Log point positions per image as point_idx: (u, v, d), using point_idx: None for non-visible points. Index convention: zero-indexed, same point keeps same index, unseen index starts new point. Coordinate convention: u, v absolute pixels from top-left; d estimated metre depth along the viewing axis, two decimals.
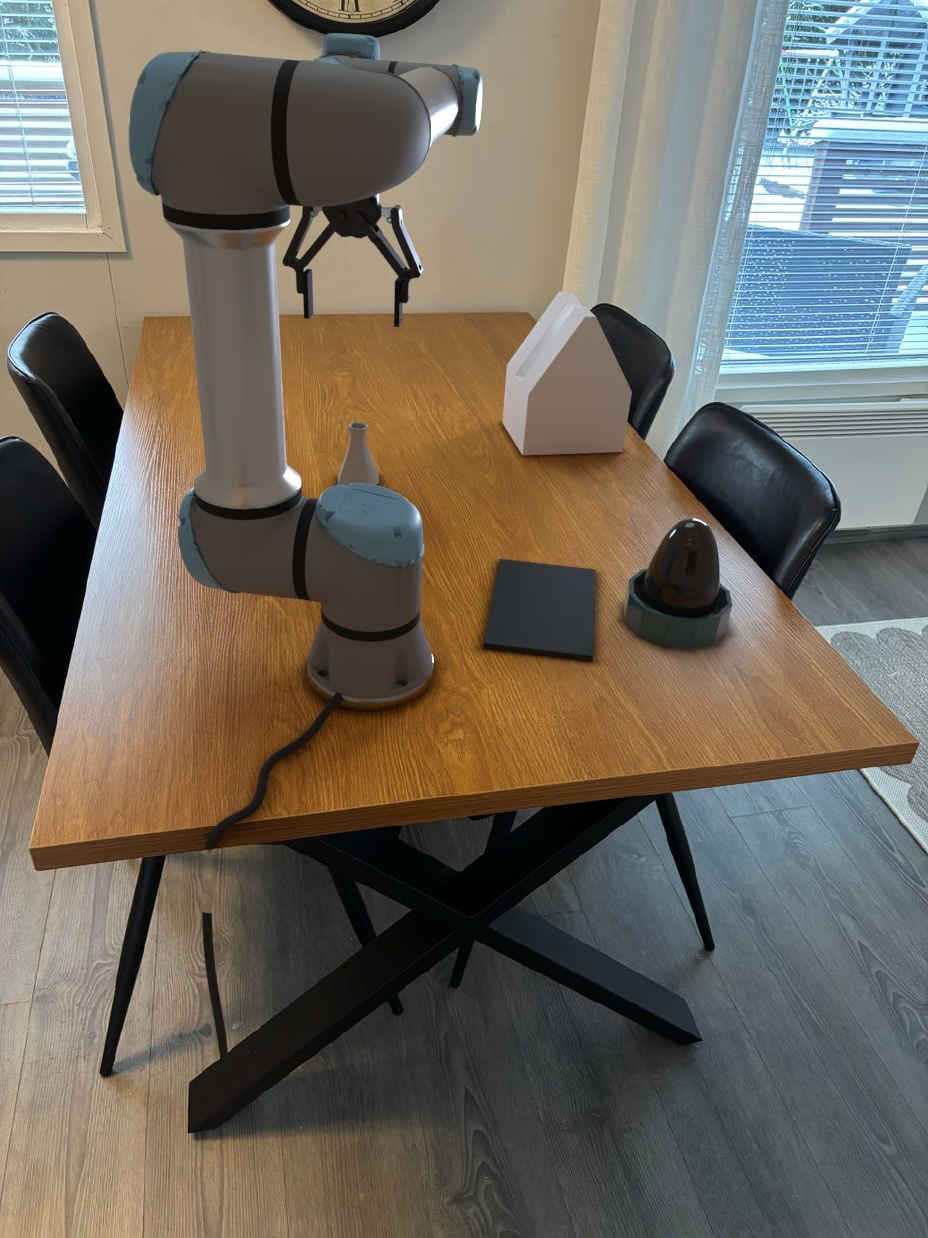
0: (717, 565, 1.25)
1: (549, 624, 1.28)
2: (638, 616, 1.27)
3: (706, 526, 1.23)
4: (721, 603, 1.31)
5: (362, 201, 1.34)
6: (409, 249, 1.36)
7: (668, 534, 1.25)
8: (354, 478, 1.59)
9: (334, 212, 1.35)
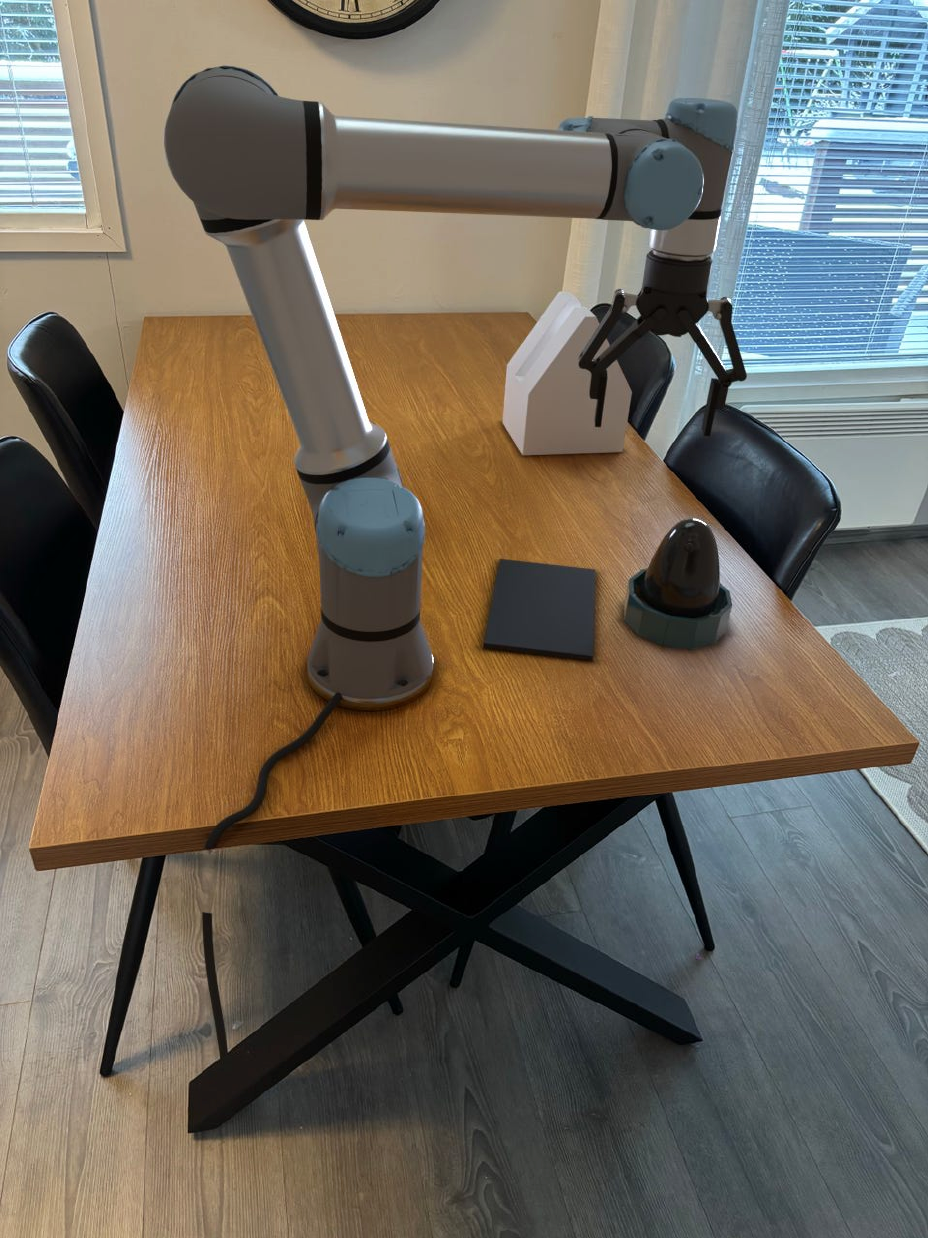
0: (717, 565, 1.25)
1: (549, 624, 1.28)
2: (638, 616, 1.27)
3: (706, 526, 1.23)
4: (721, 603, 1.31)
5: (689, 295, 1.11)
6: (738, 349, 1.14)
7: (668, 534, 1.25)
8: None
9: (652, 307, 1.13)
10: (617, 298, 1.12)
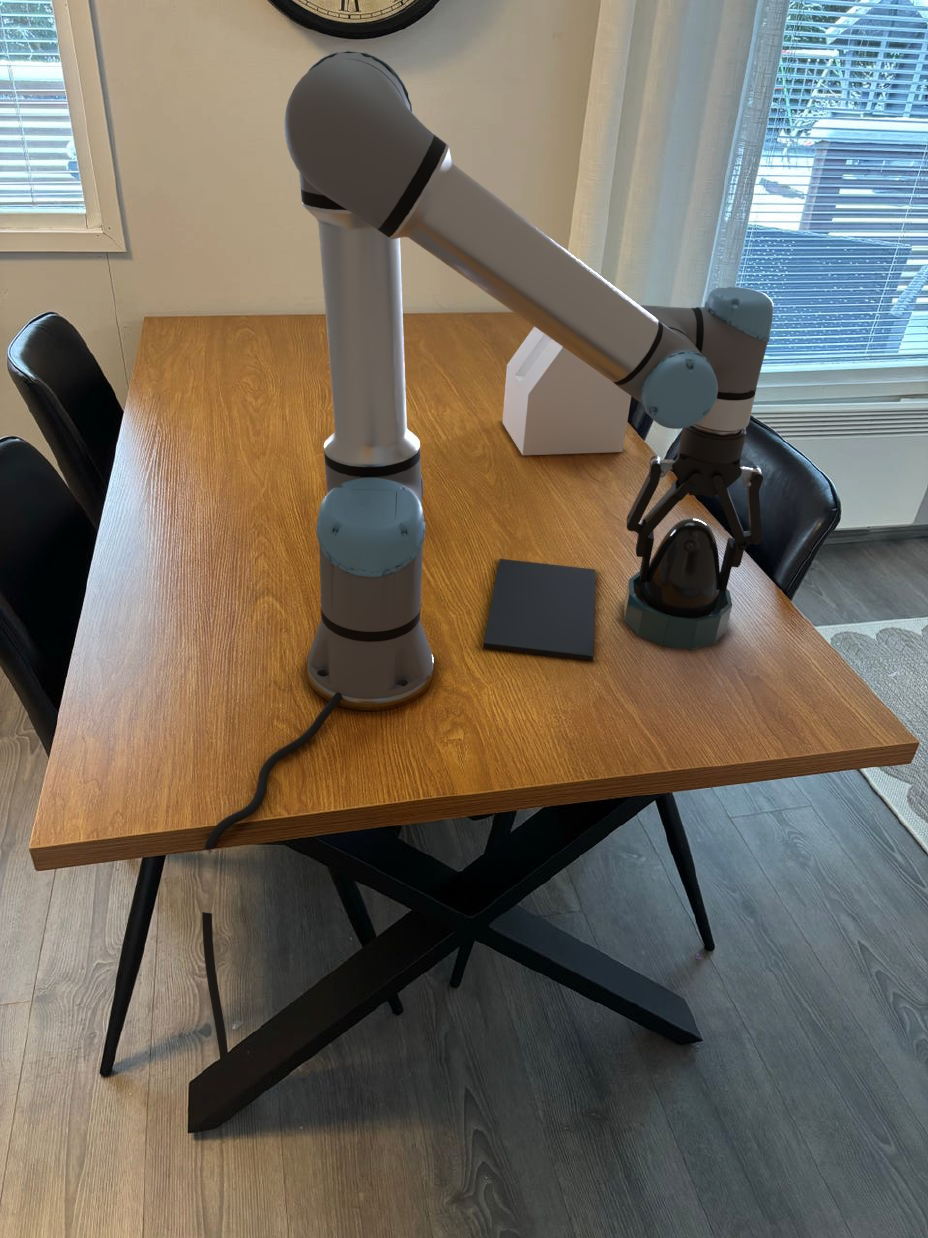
0: (717, 565, 1.25)
1: (549, 624, 1.28)
2: (638, 616, 1.27)
3: (706, 526, 1.23)
4: (721, 603, 1.31)
5: None
6: (759, 516, 1.21)
7: (668, 534, 1.25)
8: None
9: (687, 471, 1.19)
10: (653, 467, 1.19)
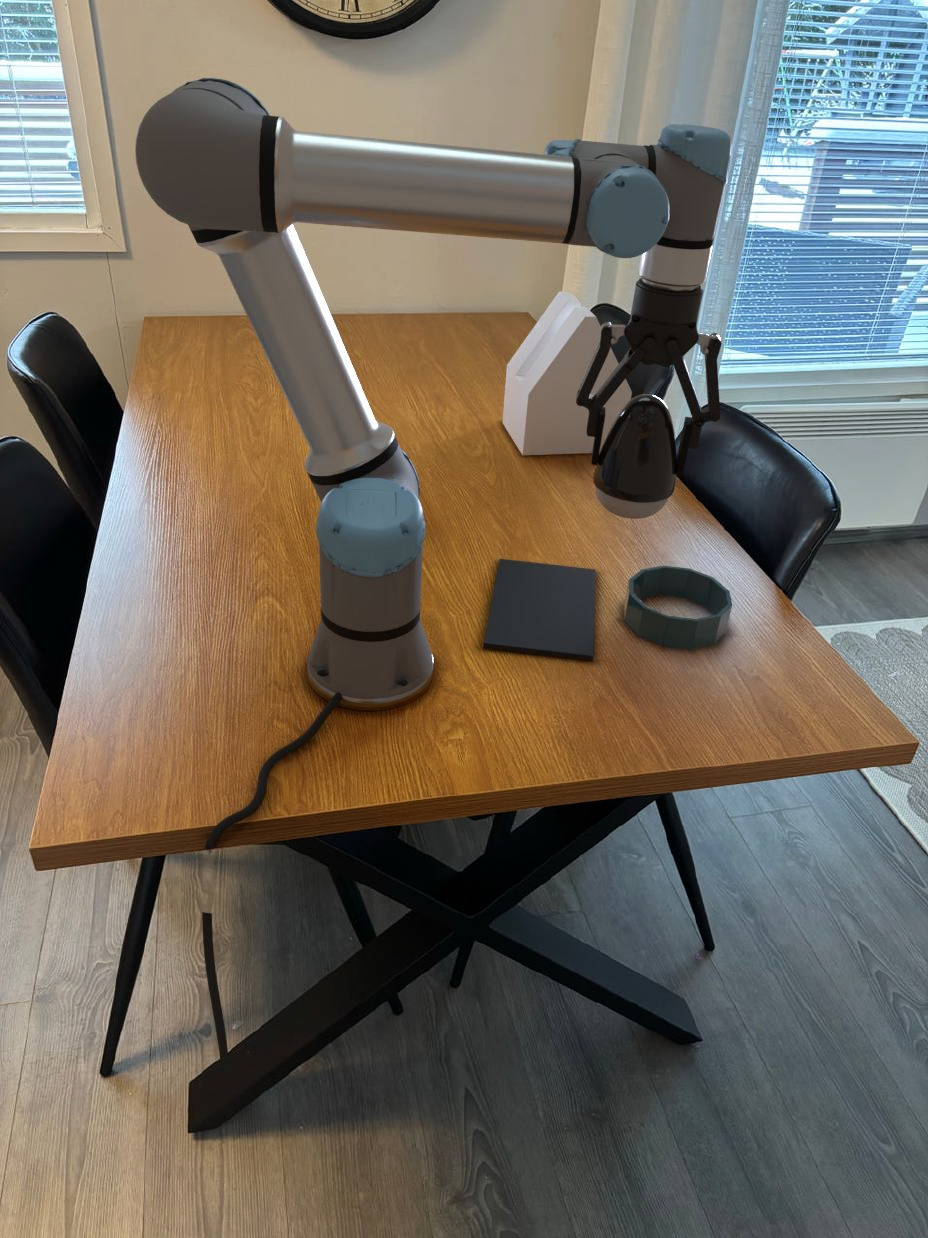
0: (673, 445, 1.16)
1: (549, 624, 1.28)
2: (638, 616, 1.27)
3: (661, 401, 1.15)
4: (721, 603, 1.31)
5: (678, 325, 1.09)
6: (717, 388, 1.12)
7: (621, 411, 1.16)
8: None
9: (640, 336, 1.10)
10: (603, 331, 1.10)
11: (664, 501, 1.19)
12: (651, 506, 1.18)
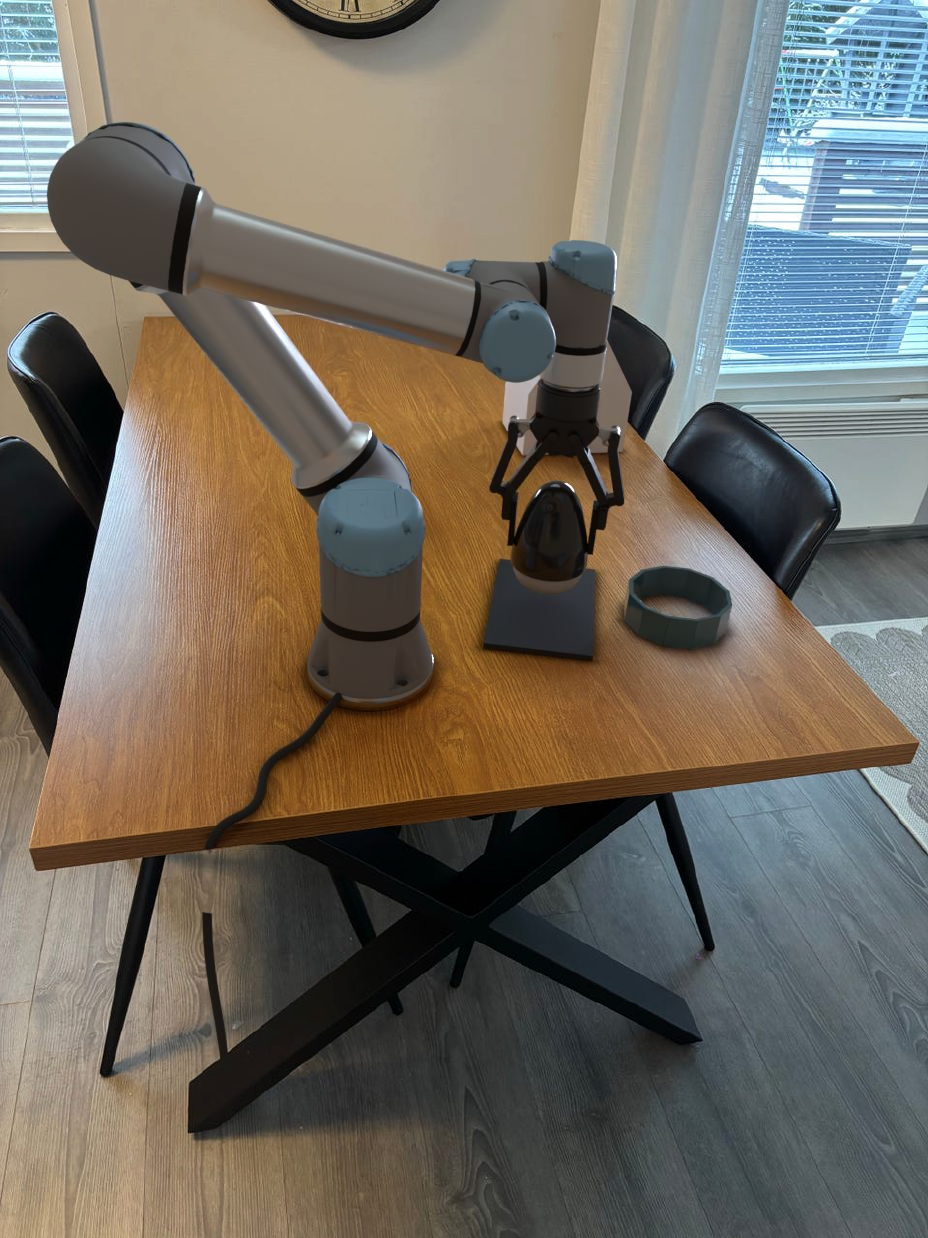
0: (582, 527, 1.23)
1: (549, 624, 1.28)
2: (638, 616, 1.27)
3: (569, 488, 1.22)
4: (721, 603, 1.31)
5: None
6: (619, 477, 1.19)
7: (532, 496, 1.23)
8: None
9: (544, 431, 1.17)
10: (510, 426, 1.17)
11: (576, 578, 1.26)
12: (563, 584, 1.25)
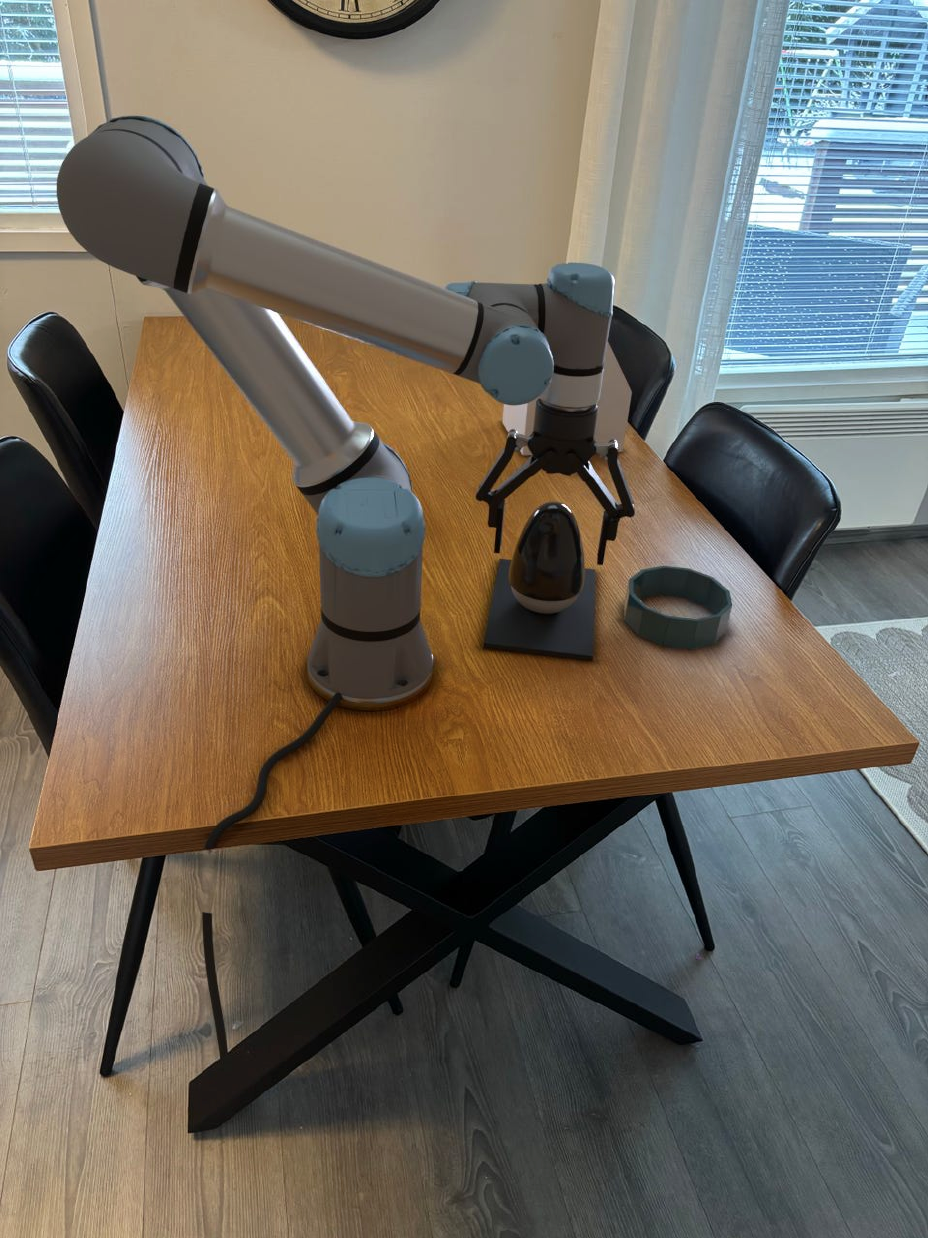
0: (579, 548, 1.25)
1: (549, 624, 1.28)
2: (638, 616, 1.27)
3: (566, 509, 1.23)
4: (721, 603, 1.31)
5: None
6: (625, 488, 1.20)
7: (530, 517, 1.25)
8: None
9: (542, 449, 1.18)
10: (509, 440, 1.18)
11: (574, 598, 1.28)
12: (560, 603, 1.27)
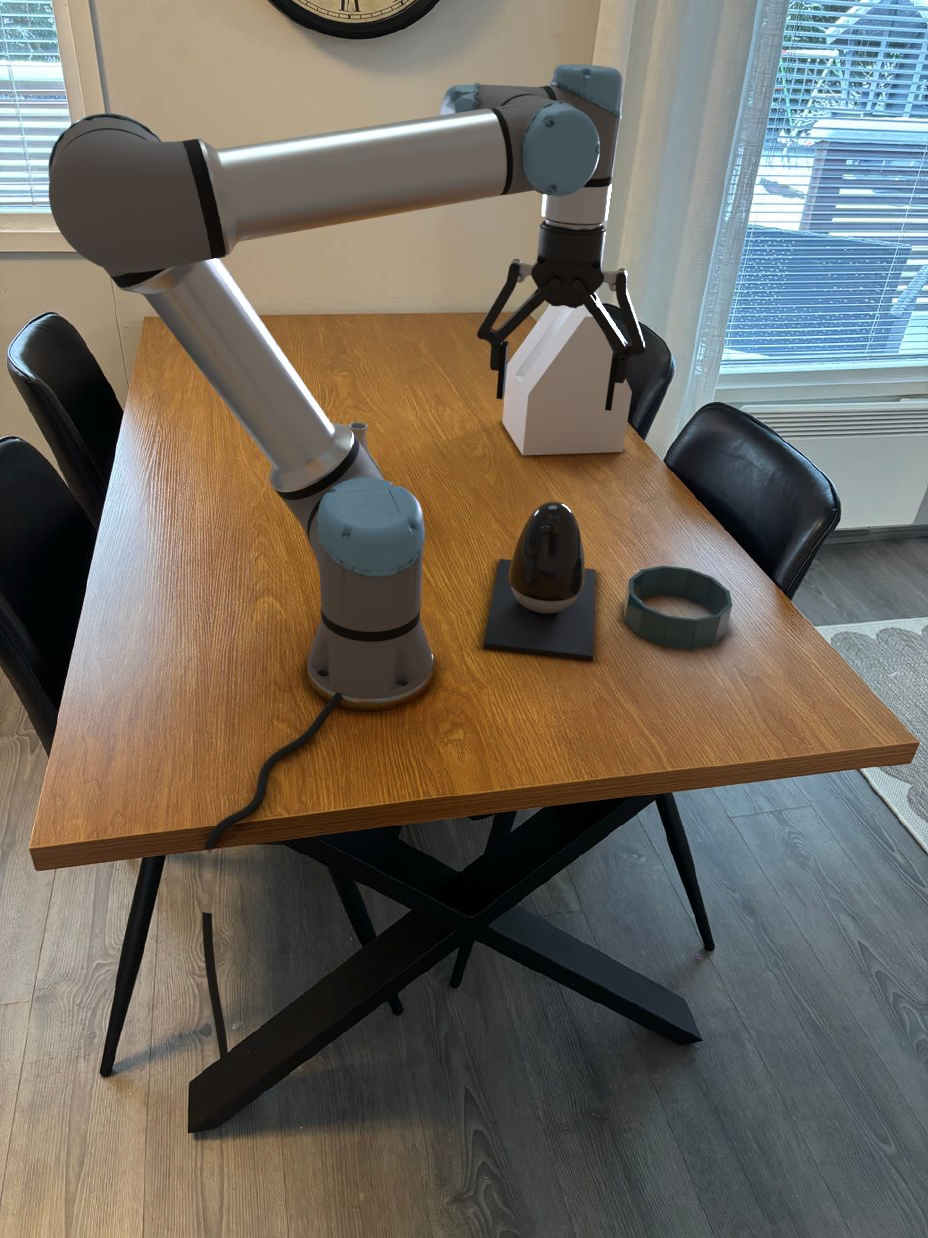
0: (579, 548, 1.25)
1: (549, 624, 1.28)
2: (638, 616, 1.27)
3: (566, 509, 1.23)
4: (721, 603, 1.31)
5: (582, 265, 1.11)
6: (634, 321, 1.13)
7: (530, 517, 1.25)
8: None
9: (546, 277, 1.12)
10: (511, 267, 1.12)
11: (574, 598, 1.28)
12: (560, 603, 1.27)
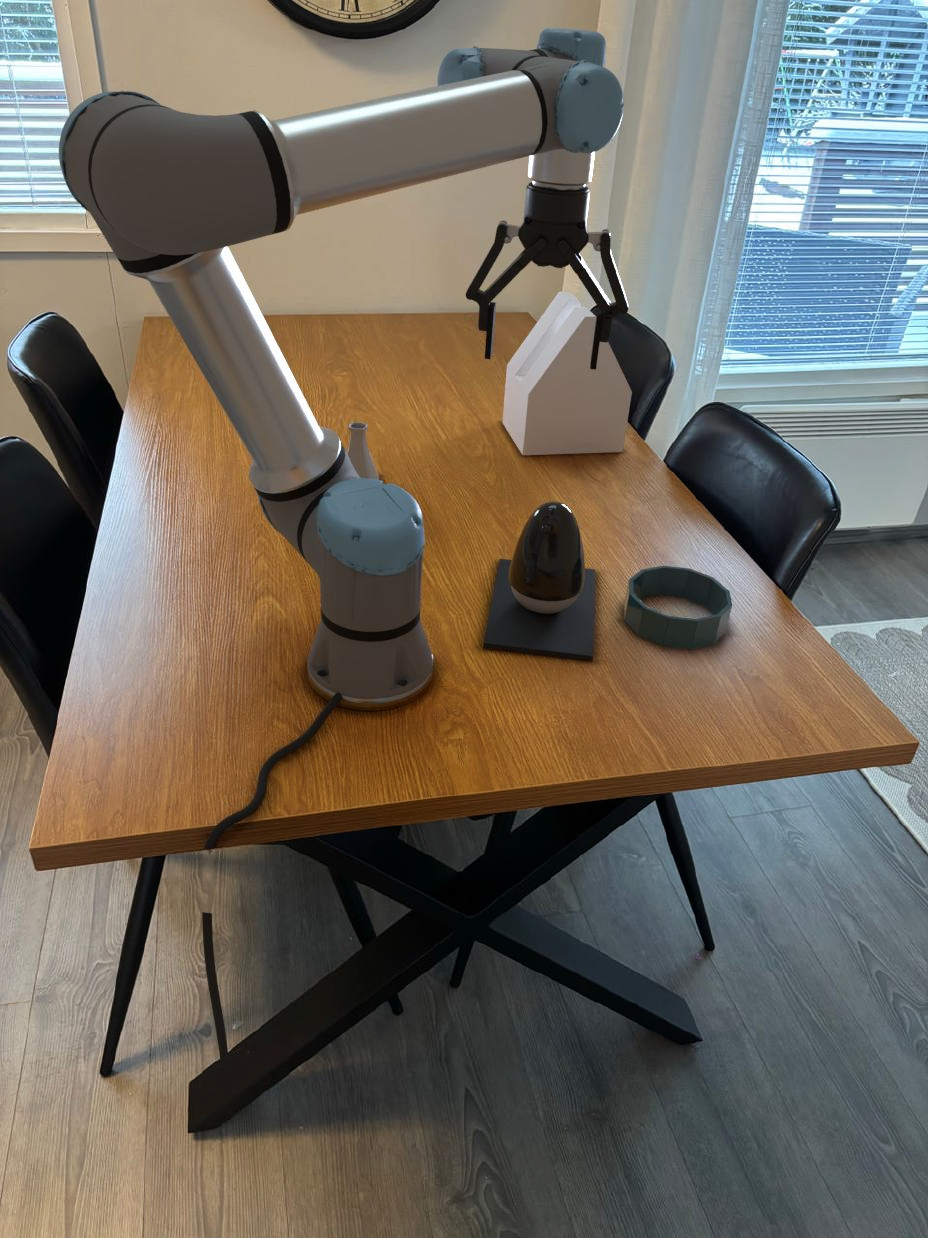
0: (579, 548, 1.25)
1: (549, 624, 1.28)
2: (638, 616, 1.27)
3: (566, 509, 1.23)
4: (721, 603, 1.31)
5: (568, 225, 1.14)
6: (618, 281, 1.17)
7: (530, 517, 1.25)
8: None
9: (533, 238, 1.15)
10: (499, 228, 1.15)
11: (574, 598, 1.28)
12: (560, 603, 1.27)
